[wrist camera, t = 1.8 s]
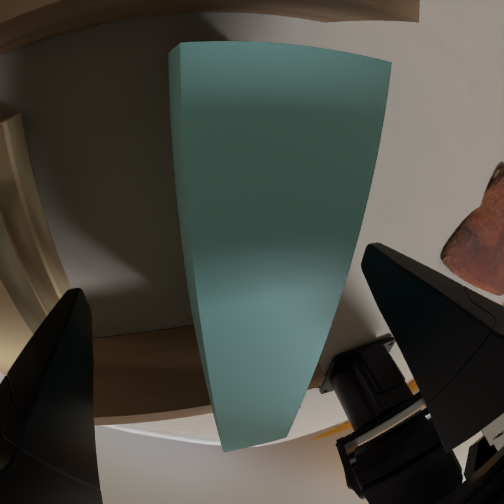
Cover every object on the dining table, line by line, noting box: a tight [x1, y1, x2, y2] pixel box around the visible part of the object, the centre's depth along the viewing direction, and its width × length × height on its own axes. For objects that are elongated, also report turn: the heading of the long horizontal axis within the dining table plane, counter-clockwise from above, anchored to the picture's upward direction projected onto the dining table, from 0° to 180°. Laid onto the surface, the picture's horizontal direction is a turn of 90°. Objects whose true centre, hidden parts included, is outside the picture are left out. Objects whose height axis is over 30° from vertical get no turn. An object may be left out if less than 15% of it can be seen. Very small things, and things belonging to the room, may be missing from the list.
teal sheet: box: [168, 41, 392, 452], centre depth 9 cm, size 12×2×8 cm, turn 178°
